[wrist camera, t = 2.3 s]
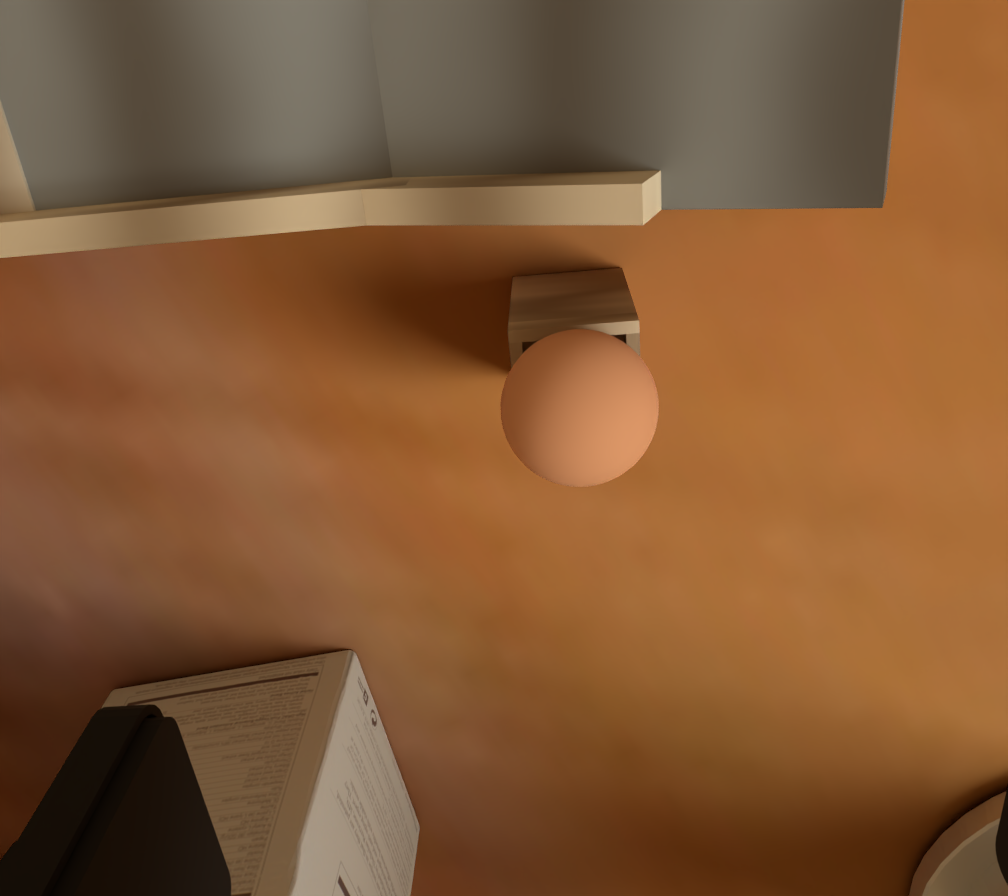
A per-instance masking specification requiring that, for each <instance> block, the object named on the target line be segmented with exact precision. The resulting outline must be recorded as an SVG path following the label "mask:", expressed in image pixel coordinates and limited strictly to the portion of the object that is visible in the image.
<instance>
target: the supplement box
mask: <svg viewBox="0 0 1008 896" xmlns="http://www.w3.org/2000/svg"><path fill="white" fill-rule="evenodd" d="M148 704H151V705H156V706H157V707H158V708H159V709H160V710H161V712H162V714H163V716H164V717H173V718H174V719H175V720H176V722H177V724H178V727H179V730H180V732H181V735H182V738H183V741H184V744H185V747H186V750H187V752H188V755H189V758H190V761H191V764H192V767H193V769H194V772H195V775H196V778H197V781H198V784H199V787H200V789H201V792H202V795H203V798H204V801H205V804H206V807H207V809H208V812H209V815H210V818H211V821H212V824H213V827H214V829H215V832H216V835H217V838H218V841H219V844H220V847H221V849H222V852H223V855H224V858H225V861H226V864H227V867H228V869H229V872H230V877H231V896H411V889H412V881H413V874H414V867H415V860H416V852H417V844H418V836H419V831H420V827H419V823H418V820H417V817H416V814H415V811H414V809H413V806H412V803H411V800H410V798H409V795H408V792H407V790H406V787H405V784H404V781H403V779H402V776H401V773H400V771H399V768H398V765H397V763H396V760H395V757H394V754H393V752H392V749H391V746H390V744H389V741H388V738H387V736H386V733H385V730H384V727H383V725H382V722H381V719H380V717H379V714H378V711H377V708H376V706H375V703H374V700H373V698H372V695H371V692H370V690H369V687H368V684H367V682H366V679H365V676H364V673H363V671H362V668H361V665H360V662H359V660H358V657H357V655H356V653H355V652H354V651H352V650H345V651H339V652H333V653H327V654H322V655H316V656H310V657H304V658H298V659H292V660H286V661H280V662H274V663H268V664H262V665H256V666H250V667H244V668H238V669H232V670H226V671H220V672H214V673H209V674H203V675H197V676H191V677H185V678H179V679H173V680H167V681H162V682H156V683H150V684H144V685H138V686H132V687H126V688H120V689H114V690H113V691H111V693H110V694H109V696H108V698H107V699H106V701H105V702H104V704H103V706H102V707H101V708H103V707H113V706H131V705H148Z"/></svg>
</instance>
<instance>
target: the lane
mask: <svg viewBox="0 0 1008 896" xmlns="http://www.w3.org/2000/svg"><path fill="white" fill-rule="evenodd" d="M903 9H904V0H0V258H6V257H17V256H28V255H40V254H51V253H62V252H73V251H85V250H96V249H107V248H118V247H129V246H141V245H152V244H163V243H174V242H185V241H197V240H208V239H219V238H230V237H242V236H253V235H264V234H275V233H286V232H298V231H309V230H320V229H331V228H343V227H354V226H365V225H644V224H645V223H646V222H647V221H649V220H650V219H651V218H652V217H653V216H654V215H656V214H657V213H658V212H659V211H660V210H668V209H790V208H882V207H883V203H884V199H885V195H886V190H887V179H888V169H889V158H890V147H891V137H892V126H893V115H894V105H895V94H896V84H897V73H898V62H899V52H900V41H901V30H902V20H903Z"/></svg>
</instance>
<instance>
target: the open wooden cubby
mask: <svg viewBox="0 0 1008 896" xmlns="http://www.w3.org/2000/svg"><path fill="white" fill-rule="evenodd" d="M572 329H587V330H595V331H599V332H603V333H606V334H609V335H611V336H614V337H616V338H617V339H619V340H621V341H623V342H624V343H625V344H627V345H628V346H629V347H631V348H632V349H633V350H634V351H635V352H636V353H637V354H638V355H639V356H640V334H639V319H638V315H637V312H636V309H635V306H634V303H633V300H632V297H631V294H630V291H629V288H628V285H627V282H626V279H625V276H624V273H623V270H622V268H613V269H601V270H589V271H577V272H565V273H553V274H541V275H529V276H517V277H513V279H512V289H511V300H510V310H509V321H508V341H509V351H510V361H511V368H512V367H513V365H514V364H515V362H516V361H517V360H518V358H519V357H520V356H521V355H522V354H523V353H524V352H525V351H526V350H527V349H528V348H529V347H530V346H532V345H533V344H534V343H536V342H537V341H539V340H541V339H542V338H544V337H546V336H549V335H551V334H554V333H557V332H561V331H565V330H572Z"/></svg>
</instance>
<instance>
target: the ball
mask: <svg viewBox="0 0 1008 896" xmlns="http://www.w3.org/2000/svg"><path fill="white" fill-rule="evenodd" d="M658 413H659V403H658V394H657V389H656V385H655V382H654V380H653V377H652V375H651V373H650V371H649V369H648V367H647V366H646V364H645V362H644V361H643V360H642V359H641V357H640V356H639V355H638V354H637V353H636V352H635V351H634V350H633V349H632V348H631V347H629V346H628V345H627V344H625V343H624V342H623V341H621V340H619V339H617V338H616V337H614V336H611V335H609V334H606V333H603V332H599V331H595V330H587V329H572V330H565V331H561V332H557V333H554V334H551V335H549V336H546V337H544V338H542V339H541V340H539V341H537V342H536V343H534V344H533V345H532V346H530V347H529V348H528V349H527V350H526V351H525V352H524V353H523V354H522V355H521V356H520V357H519V358H518V360H517V361H516V362H515V364H514V365H513V367H512V368H511V370H510V372H509V374H508V376H507V378H506V381H505V384H504V388H503V392H502V396H501V420H502V425H503V429H504V432H505V435H506V438H507V440H508V442H509V444H510V446H511V448H512V450H513V451H514V453H515V454H516V456H517V457H518V458H519V459H520V460H521V461H522V462H523V463H524V465H525V466H527V467H528V468H529V469H530V470H531V471H533V472H534V473H536V474H537V475H539V476H540V477H542V478H544V479H546V480H549V481H551V482H554V483H557V484H561V485H565V486H573V487H586V486H594V485H598V484H602V483H605V482H608V481H610V480H612V479H614V478H616V477H618V476H620V475H621V474H623V473H624V472H626V471H627V470H629V469H630V468H631V467H632V466H633V465H635V464H636V463H637V461H638V460H639V459H640V458H641V457H642V455H643V454H644V453H645V451H646V450H647V448H648V446H649V444H650V442H651V440H652V438H653V436H654V433H655V430H656V426H657V420H658Z"/></svg>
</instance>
